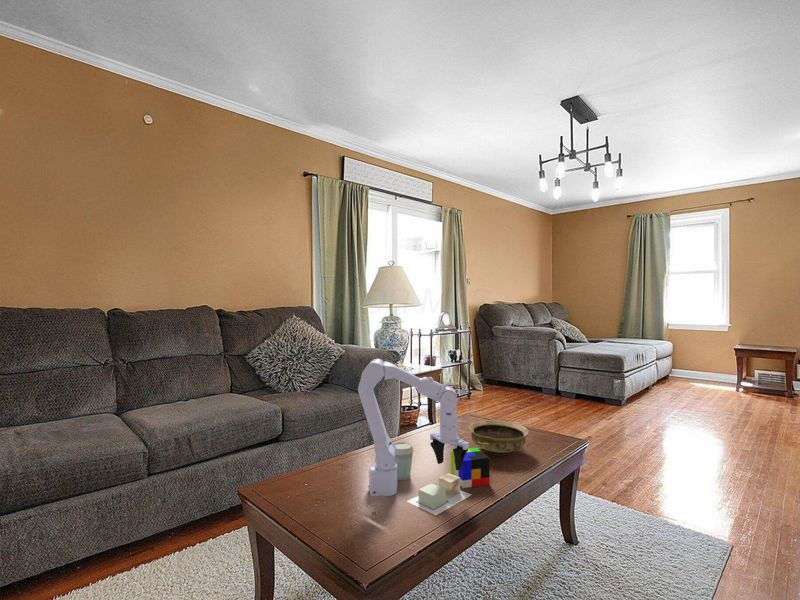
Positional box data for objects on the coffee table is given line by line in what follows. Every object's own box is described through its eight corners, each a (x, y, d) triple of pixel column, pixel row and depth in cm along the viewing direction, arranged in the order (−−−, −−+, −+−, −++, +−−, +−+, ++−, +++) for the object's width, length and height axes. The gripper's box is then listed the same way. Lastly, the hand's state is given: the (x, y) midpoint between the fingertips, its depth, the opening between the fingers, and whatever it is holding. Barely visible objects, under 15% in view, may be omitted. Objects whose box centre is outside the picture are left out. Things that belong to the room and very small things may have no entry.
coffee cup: (416, 475, 155) (416, 442, 155) (410, 485, 147) (410, 450, 147) (393, 472, 158) (393, 440, 157) (386, 482, 149) (386, 448, 149)
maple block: (450, 497, 136) (450, 482, 136) (438, 492, 140) (438, 477, 140) (460, 492, 140) (460, 477, 140) (448, 487, 143) (448, 473, 143)
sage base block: (433, 508, 129) (433, 495, 129) (418, 502, 134) (418, 489, 134) (445, 501, 134) (445, 489, 134) (431, 495, 138) (431, 483, 138)
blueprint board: (435, 518, 126) (435, 515, 126) (406, 503, 134) (406, 501, 134) (471, 497, 138) (471, 494, 138) (442, 485, 147) (442, 482, 147)
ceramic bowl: (508, 471, 158) (508, 444, 158) (453, 455, 174) (453, 431, 174) (540, 449, 181) (540, 425, 181) (490, 436, 197) (490, 415, 197)
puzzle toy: (462, 490, 143) (462, 460, 143) (451, 478, 153) (451, 450, 153) (489, 486, 146) (489, 457, 146) (476, 474, 156) (476, 447, 156)
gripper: (474, 426, 137) (474, 468, 137) (439, 417, 148) (440, 456, 148) (460, 431, 132) (461, 475, 132) (425, 422, 143) (426, 462, 143)
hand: (449, 466), depth 140 cm, fingers open, 7 cm apart
